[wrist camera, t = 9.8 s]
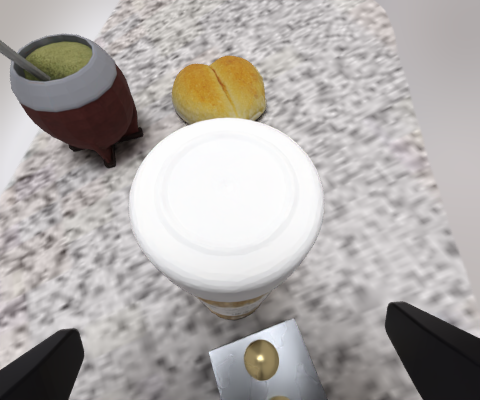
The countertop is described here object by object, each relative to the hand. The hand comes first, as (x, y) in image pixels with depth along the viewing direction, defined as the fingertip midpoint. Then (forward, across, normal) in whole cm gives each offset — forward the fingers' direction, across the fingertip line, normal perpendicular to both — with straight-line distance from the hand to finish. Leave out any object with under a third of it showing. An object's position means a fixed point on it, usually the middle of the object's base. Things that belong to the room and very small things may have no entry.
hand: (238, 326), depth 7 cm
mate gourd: (+18, +11, -4) cm, 22 cm away
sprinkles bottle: (+9, 0, +5) cm, 11 cm away
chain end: (+5, -2, +9) cm, 10 cm away
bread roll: (+22, 0, -7) cm, 23 cm away
